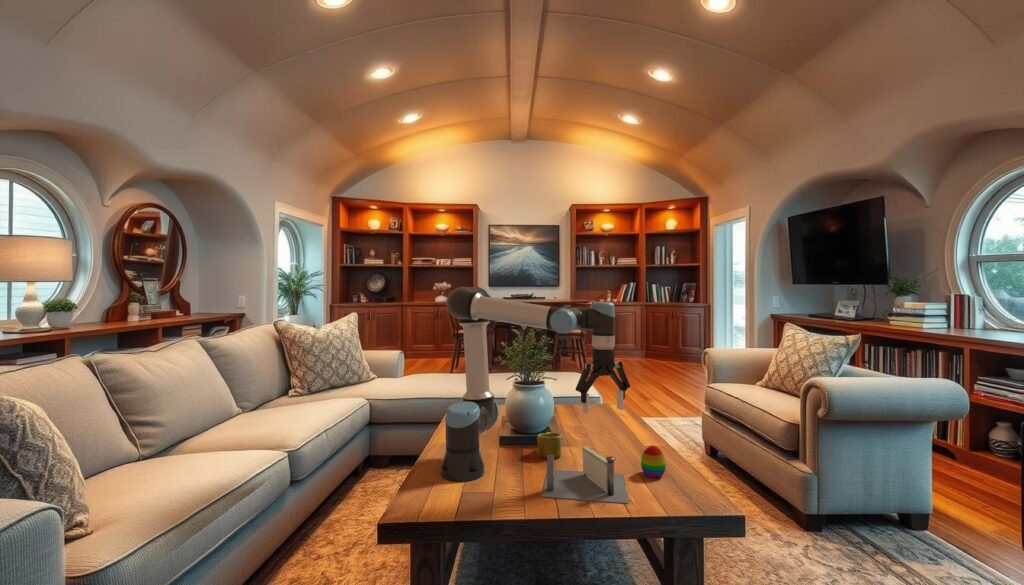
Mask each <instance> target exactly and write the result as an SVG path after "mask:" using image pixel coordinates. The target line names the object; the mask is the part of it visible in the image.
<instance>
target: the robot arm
mask: <svg viewBox="0 0 1024 585" xmlns="http://www.w3.org/2000/svg"><path fill="white" fill-rule="evenodd" d="M446 308H447V311H448V312H449V314H450V315H451V316H452V317H454V318H455V319H458V325H460V326H461V327H462V328H463V346H464V366H465V369H464V370H465V381H466V382H465V386H466V392H465V393H464V394H463V396H462V401H459V402H456V403H452V404H450V405H449V406H448V407H447V409H446V411H445V418H444V420H445V453H444V456H443V459H442V462H441V465H440V476H441V477H442V478H443V479H445V480H447V481H452V482H469V481H473V480H478V479H479V478H481V477H483V476H484V474H485V464H484V460H483V457H482V454H481V451H480V436H481V434H483V433H485V432H486V431H488V430H490V429H491V428H493V426H494V425H495V424H496V422H497V421H498V419H499V416H500V408H499V405H498V403H497V402H496V401H495V396H494V395H495V394H494V393H493V392H492V391H491V390H490V377H489V360H488V359H489V358H488V339H487V338H488V337H487V327H488V325H489V324H490V323H491V322H490V321H496V322H502V323H508V324H513V325H518V326H519V325H520V326H526V327H531V328H535V329H536V328H538V329H543V330H547V331H548V330H549V331H553V332H556V333H557V334H569V333H571V332H573V331H577V330H580V331H583V330H584V331H585V330H588V331H592V333H591V335H592V336H591V339H592V340H591V346H592V347H593V348H592V349H591V351H592V352H591V356H592V357H591V358H592V363H588V362H584V363H583V370H582V373H581V375H580V377H579V379H578V381H577V384H576V386H575V391H576V392H579V393H580V402H581V404H582V413H585V414H590V394H589V393H588V392H589V390H590V389H591V388H592V386H593V384H594V383H595V382H596V380H597V379H598V378H599V377H603V376H607V377H608V376H609V377H610V378H611V380H613V382H614V383H615V385H616V386H617V388H618V389H616V409H618V410H620V411H623V410H624V400H625V399H626V391H627V390H628V389H630V388H631V384H630V382H629V380H628V377H627V375H626V373H625V370H624V366H623V361H620V360H615V358H616V355H615V354H616V353H615V351H616V350H615V344H616V343H615V342H616V336H615V334H616V314H615V313H616V312H615V304H614V303H613V302H608V301H607V302H604V301H603V302H600V301H599V302H593V303H592V306H591V307H555V306H548V305H542V304H535V303H528V302H523V301H517V300H516V301H515V300H510V299H504V298H503V299H502V298H496V297H493V296H492V295H491V293H490V292H489V291H488V290H487V289H485V288H483V287H479V286H459V287H456V288H454V289H453V290H451V292H449V294H448V296H447V299H446ZM614 368H615V369H616V372H617V373H616V372H615V370H614ZM591 370H592V371H591ZM618 376H619V377H618Z"/></svg>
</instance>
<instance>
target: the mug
mask: <svg viewBox="0 0 1024 585" xmlns="http://www.w3.org/2000/svg"><path fill="white" fill-rule="evenodd" d="M562 439H563V438H562V434H560V433H557V432H551V431H547V432H545V433H544V432H542V433H539V434H538V435H537V436H536V442H537V450H538V455H539V457H540V458H542V459H547V456H548V455H554V459H557V458H560V457H561V456H562Z"/></svg>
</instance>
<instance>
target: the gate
mask: <svg viewBox="0 0 1024 585" xmlns="http://www.w3.org/2000/svg"><path fill="white" fill-rule="evenodd" d="M581 449H582V471H583V473H584V475H587V476H589V477H590V478H591V479H593V480H594V481H595V482H597V483H598V484H599V485H601V486H602V487H603V488H605V489H606V490H607V460H606V457H604V456H602V455H601V454H600V453H598V452H596V451H594V450H593V449H591V448H590V447H588V446H582V448H581Z"/></svg>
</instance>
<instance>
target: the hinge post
mask: <svg viewBox="0 0 1024 585" xmlns="http://www.w3.org/2000/svg"><path fill="white" fill-rule="evenodd" d="M605 459H606V460H607V495H609V496H613V495H614V474H615V461H616V457H615V456H606V457H605Z"/></svg>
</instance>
